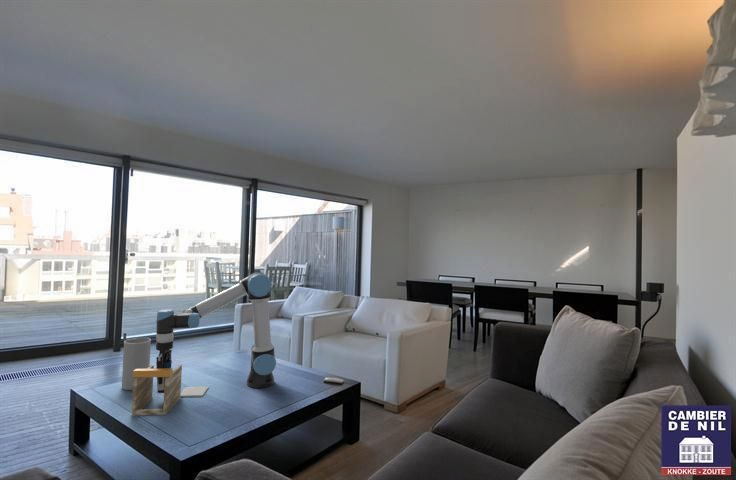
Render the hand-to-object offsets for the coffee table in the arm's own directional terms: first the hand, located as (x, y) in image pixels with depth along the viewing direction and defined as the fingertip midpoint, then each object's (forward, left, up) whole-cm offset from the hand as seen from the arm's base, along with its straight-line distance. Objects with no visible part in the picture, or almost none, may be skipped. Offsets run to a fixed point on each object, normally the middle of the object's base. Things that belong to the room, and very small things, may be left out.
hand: (163, 387), depth 189 cm
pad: (-12, -11, -7) cm, 17 cm away
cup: (0, 0, -2) cm, 2 cm away
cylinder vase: (+21, -21, -7) cm, 31 cm away
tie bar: (0, +13, +10) cm, 16 cm away
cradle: (0, +6, -7) cm, 9 cm away
